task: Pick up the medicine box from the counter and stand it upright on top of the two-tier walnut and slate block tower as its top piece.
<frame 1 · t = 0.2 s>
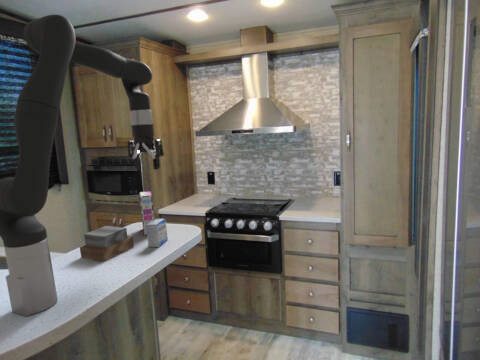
hand: (147, 169, 123), 28 cm above the table, tool pointing down, fingers open, 8 cm apart
medicine box: (158, 244, 129), on the table
white cardboard box: (149, 231, 145), on the table
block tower: (108, 252, 123), on the table
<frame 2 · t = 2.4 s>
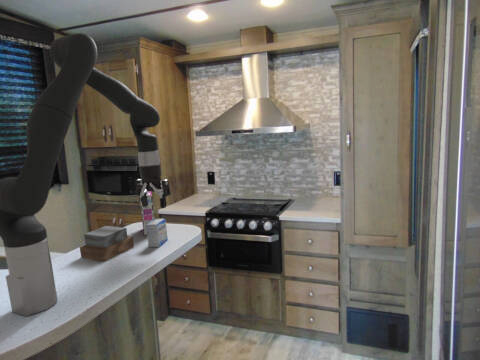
hand: (154, 207, 126), 14 cm above the table, tool pointing down, fingers open, 8 cm apart
nothing on the table moved.
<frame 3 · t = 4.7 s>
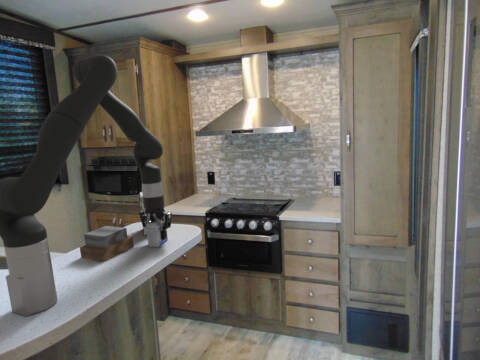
hand: (157, 238, 128), 2 cm above the table, tool pointing down, fingers closed on medicine box, 5 cm apart
medicine box: (158, 243, 129), on the table, touching gripper
everything else where it was.
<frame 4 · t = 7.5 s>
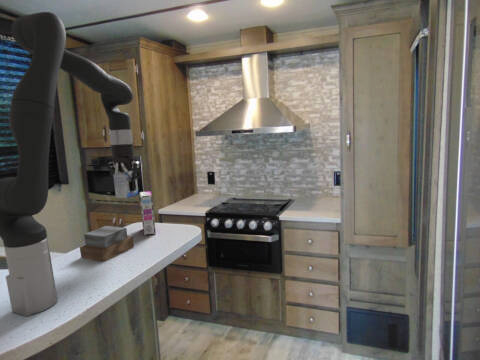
hand: (126, 190, 122), 22 cm above the table, tool pointing down, fingers closed on medicine box, 5 cm apart
medicine box: (127, 196, 122), point 19 cm above the table, touching gripper
everything else where it was.
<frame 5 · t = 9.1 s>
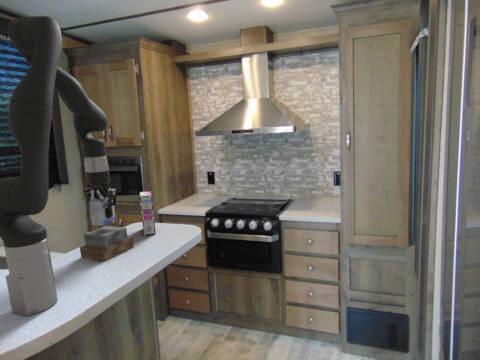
hand: (103, 217, 121), 13 cm above the table, tool pointing down, fingers closed on medicine box, 5 cm apart
medicine box: (104, 223, 121), point 11 cm above the table, touching gripper
everything else where it was.
when the fingers open (11 cm above the table, at t = 10.2 s): medicine box drops 1 cm, resting on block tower.
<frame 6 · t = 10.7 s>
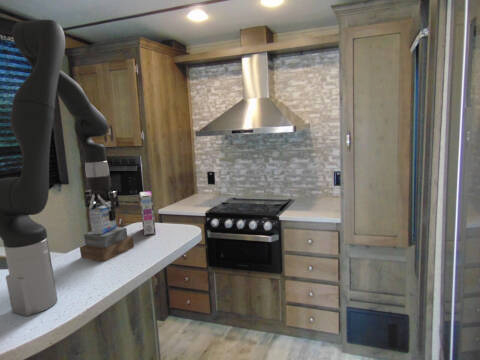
hand: (104, 219, 121), 12 cm above the table, tool pointing down, fingers open, 8 cm apart
medicine box: (104, 231, 122), point 8 cm above the table, touching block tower
everything else where it was.
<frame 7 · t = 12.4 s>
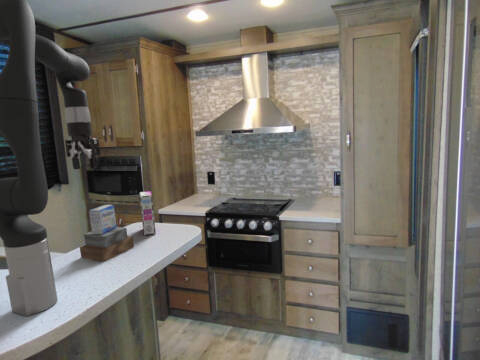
hand: (85, 169, 117), 30 cm above the table, tool pointing down, fingers open, 8 cm apart
nothing on the table moved.
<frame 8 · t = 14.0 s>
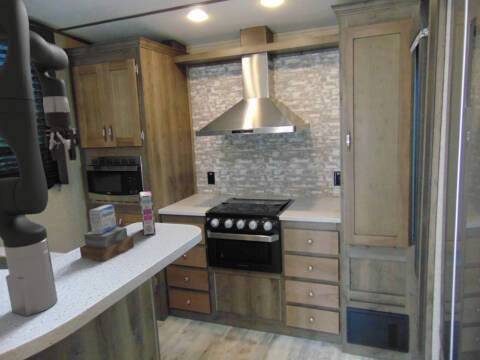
hand: (64, 160, 116), 34 cm above the table, tool pointing down, fingers open, 8 cm apart
nothing on the table moved.
at the end: medicine box inside the target area on the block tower (0.2 cm from its centre), point 7.8 cm above the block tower's base; medicine box tilted 0°; the gripper is holding nothing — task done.
